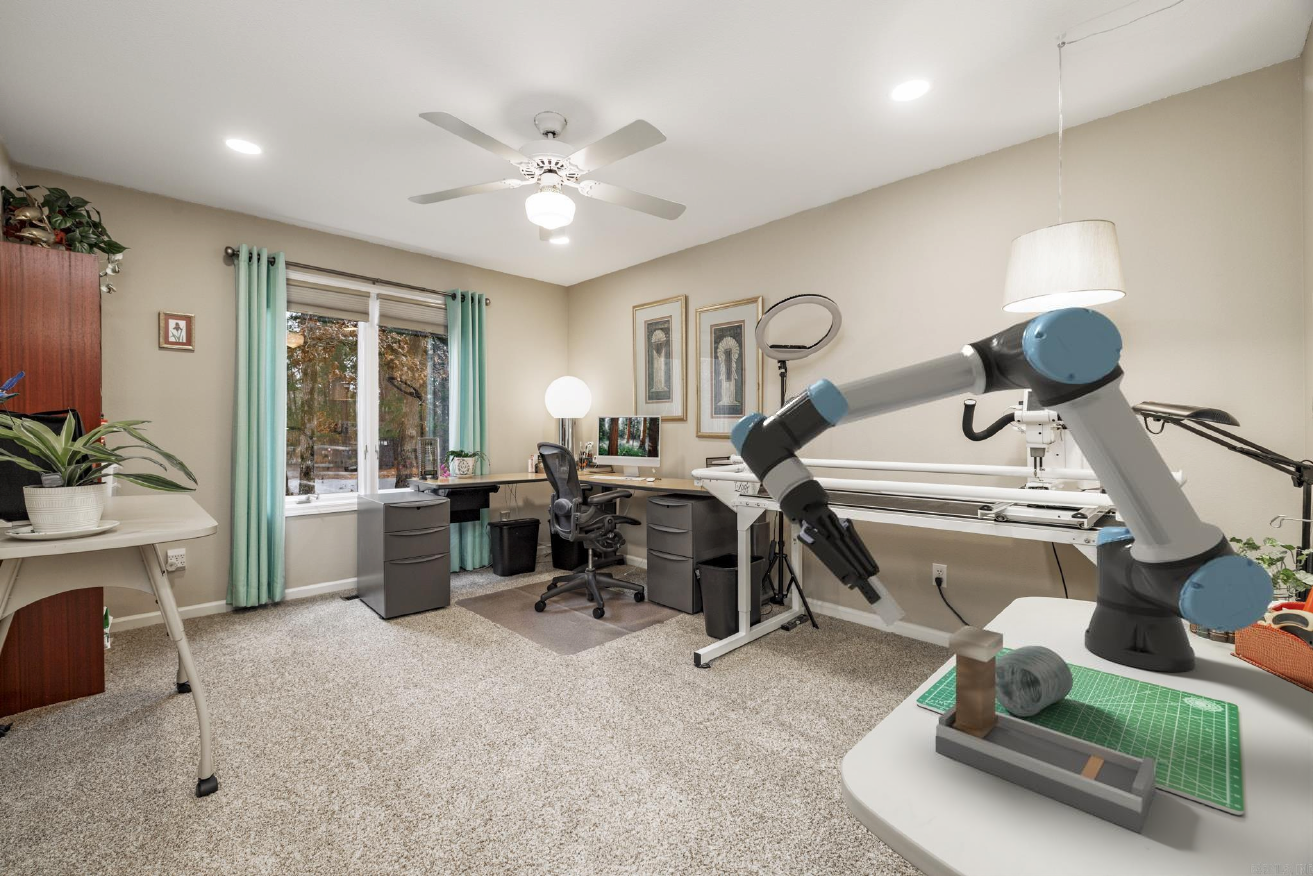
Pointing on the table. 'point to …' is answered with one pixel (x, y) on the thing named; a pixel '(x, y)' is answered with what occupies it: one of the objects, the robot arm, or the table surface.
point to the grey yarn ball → (1031, 679)
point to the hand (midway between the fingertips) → (896, 620)
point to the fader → (975, 679)
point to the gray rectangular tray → (1057, 767)
